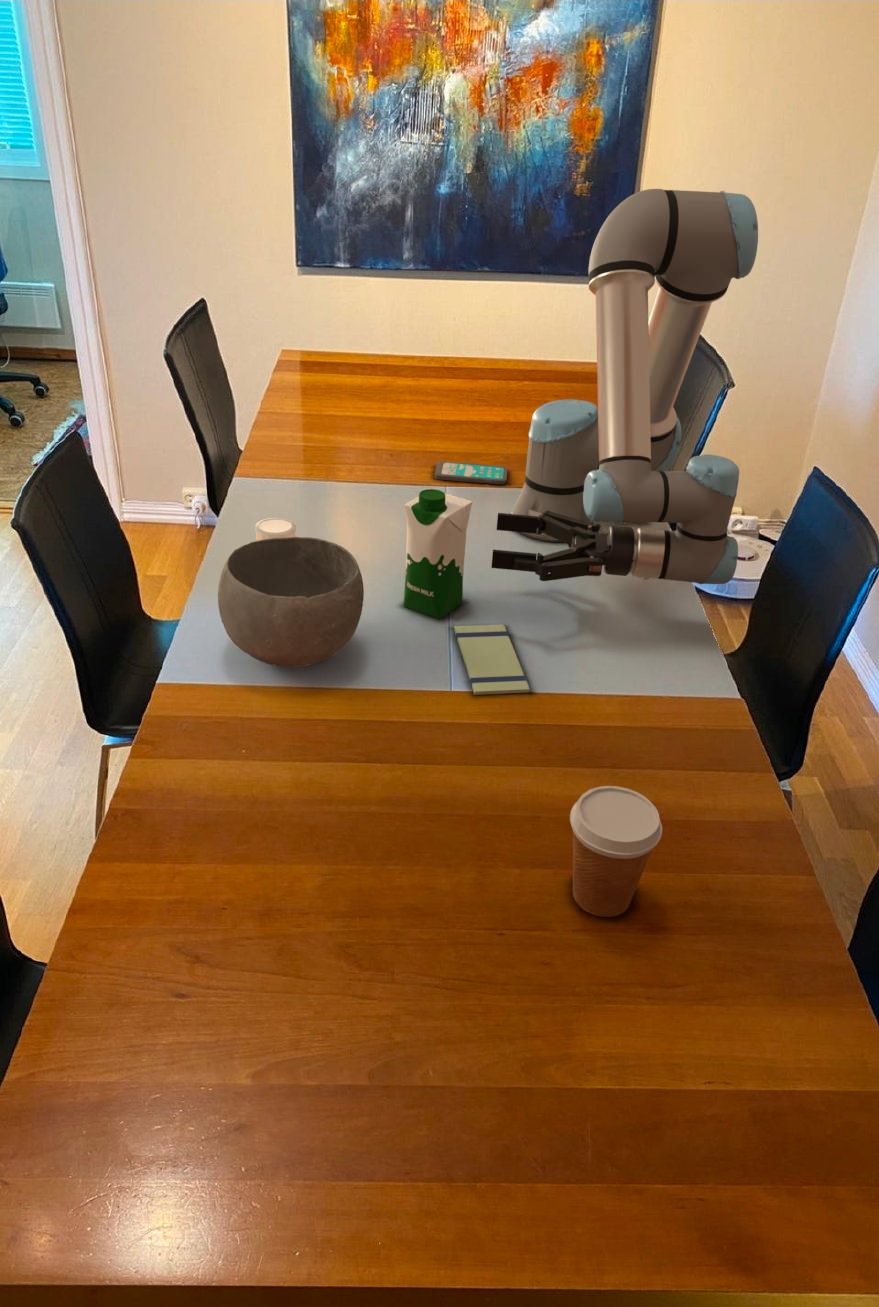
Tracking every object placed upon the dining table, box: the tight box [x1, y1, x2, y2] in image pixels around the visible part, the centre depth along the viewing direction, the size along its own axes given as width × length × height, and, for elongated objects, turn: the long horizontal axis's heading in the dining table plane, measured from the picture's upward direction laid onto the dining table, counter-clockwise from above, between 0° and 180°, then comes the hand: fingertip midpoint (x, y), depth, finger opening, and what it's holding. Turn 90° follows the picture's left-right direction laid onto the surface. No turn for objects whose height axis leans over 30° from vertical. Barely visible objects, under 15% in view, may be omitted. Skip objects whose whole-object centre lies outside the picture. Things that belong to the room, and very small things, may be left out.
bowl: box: [217, 536, 365, 668], centre depth 142 cm, size 20×20×15 cm
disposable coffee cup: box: [569, 785, 663, 918], centre depth 105 cm, size 10×10×12 cm
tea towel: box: [453, 623, 531, 696], centre depth 147 cm, size 8×18×1 cm, turn 9°
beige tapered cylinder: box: [254, 517, 297, 541], centre depth 168 cm, size 7×7×7 cm
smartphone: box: [433, 461, 508, 485], centre depth 207 cm, size 9×1×15 cm
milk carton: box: [403, 488, 473, 620], centre depth 155 cm, size 9×9×20 cm
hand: (494, 539), depth 153 cm, fingers open, 13 cm apart
